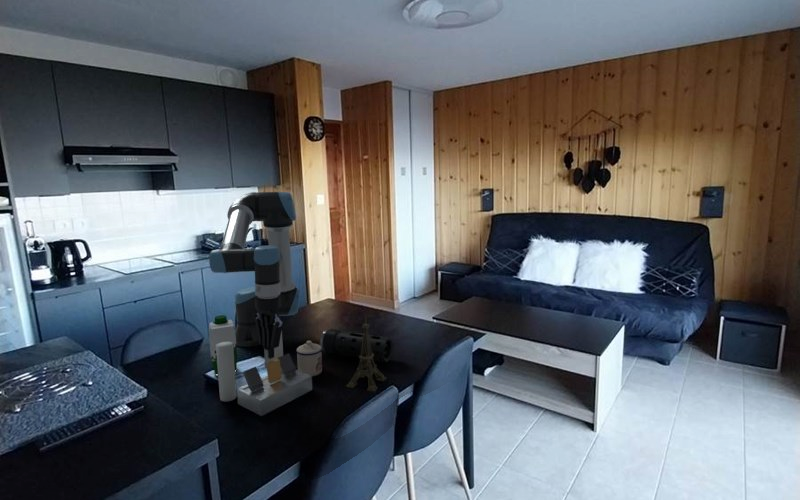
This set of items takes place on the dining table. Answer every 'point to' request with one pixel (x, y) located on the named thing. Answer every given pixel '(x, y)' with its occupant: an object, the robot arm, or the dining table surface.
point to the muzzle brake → (355, 344)
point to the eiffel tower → (366, 368)
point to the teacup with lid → (310, 358)
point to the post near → (226, 371)
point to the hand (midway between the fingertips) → (269, 366)
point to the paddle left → (253, 379)
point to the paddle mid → (274, 371)
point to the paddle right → (287, 364)
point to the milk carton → (221, 337)
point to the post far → (278, 349)
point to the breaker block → (274, 392)
